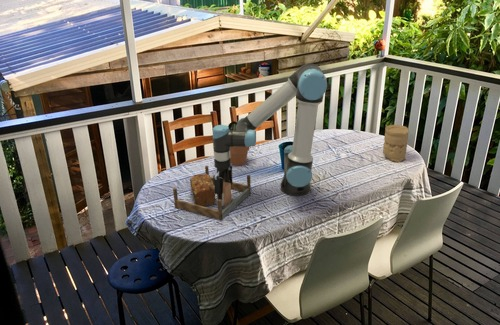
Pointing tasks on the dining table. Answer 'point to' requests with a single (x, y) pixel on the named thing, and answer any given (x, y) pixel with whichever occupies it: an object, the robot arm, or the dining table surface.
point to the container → (395, 142)
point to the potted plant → (237, 150)
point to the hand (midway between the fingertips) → (224, 202)
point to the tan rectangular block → (226, 193)
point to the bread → (203, 190)
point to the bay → (218, 213)
